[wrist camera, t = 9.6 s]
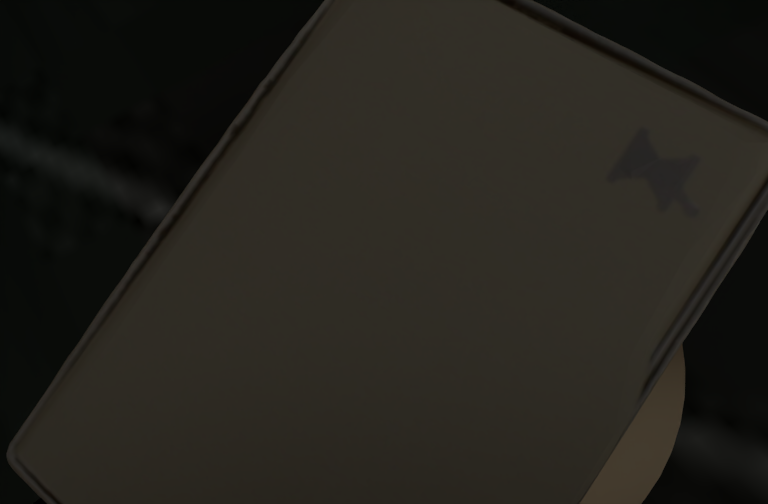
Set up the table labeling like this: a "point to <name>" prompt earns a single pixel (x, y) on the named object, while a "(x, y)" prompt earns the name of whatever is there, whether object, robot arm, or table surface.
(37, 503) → the robot arm
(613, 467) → the tan round disc
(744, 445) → the table surface
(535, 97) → the skincare box
